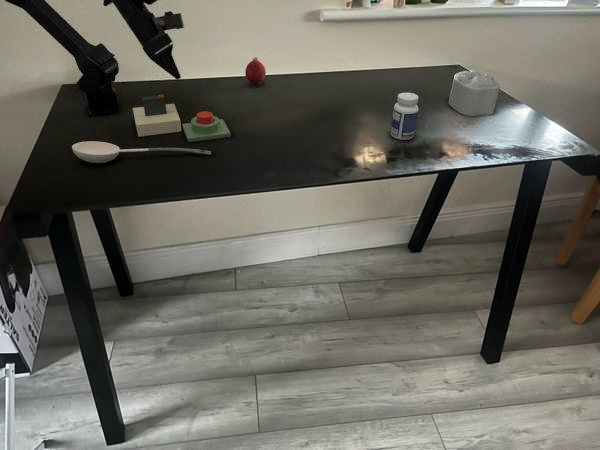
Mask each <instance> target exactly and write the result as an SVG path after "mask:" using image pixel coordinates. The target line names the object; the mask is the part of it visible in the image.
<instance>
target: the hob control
mask: <svg viewBox="0 0 600 450" xmlns="http://www.w3.org/2000/svg"><path fill="white" fill-rule="evenodd" d="M166 110H167V114H161V115H152V116H145V112H144V106H139V107H132V112H133V118H134V123H135V128H136V132H137V137H138V138H140V137H147V136H155V135H162V134H171V133H179V132H182V130H183V129H182V123H181V122H182V121H181V118H180V116H179V113H178V110H177V107H176V105H175V103H166Z"/></svg>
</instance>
